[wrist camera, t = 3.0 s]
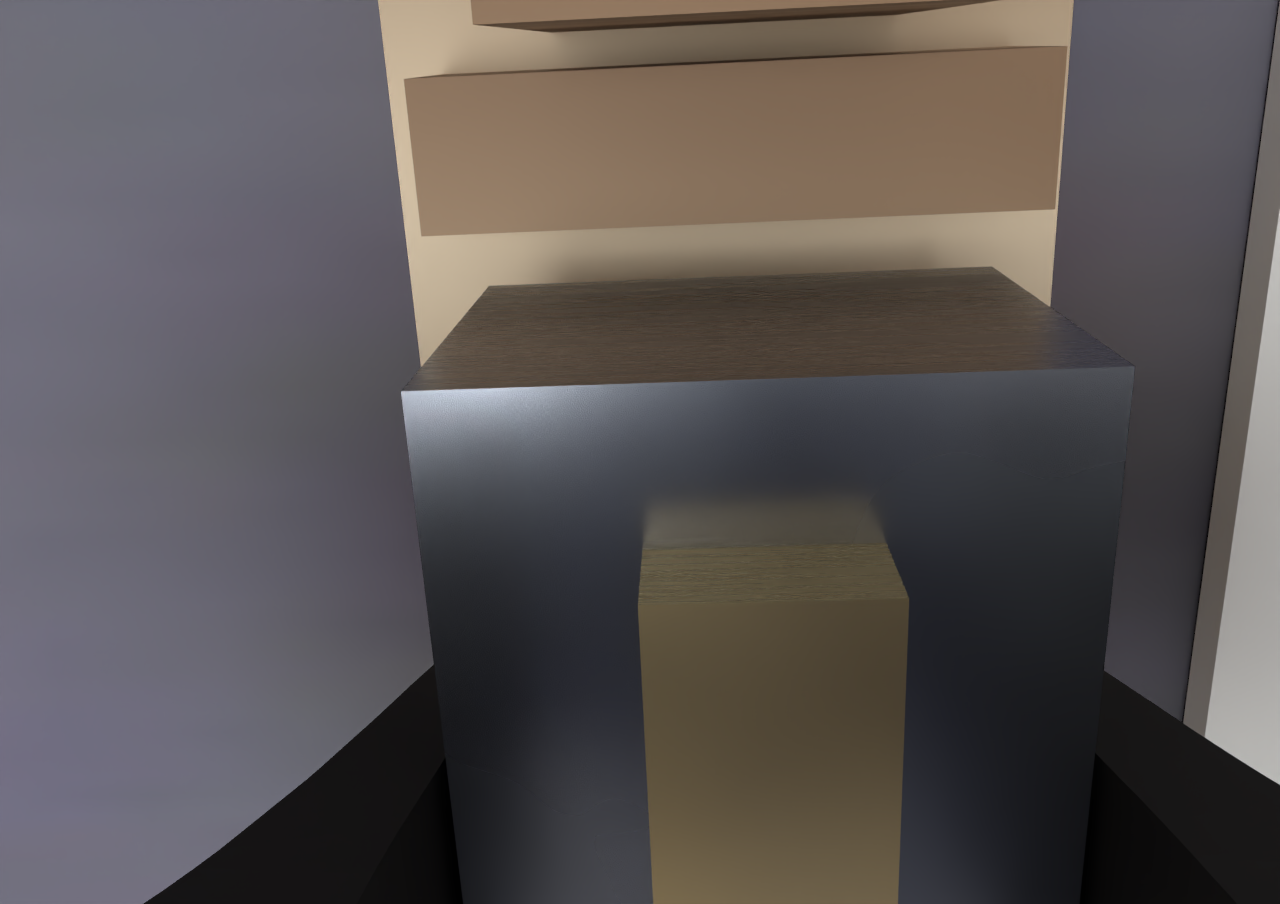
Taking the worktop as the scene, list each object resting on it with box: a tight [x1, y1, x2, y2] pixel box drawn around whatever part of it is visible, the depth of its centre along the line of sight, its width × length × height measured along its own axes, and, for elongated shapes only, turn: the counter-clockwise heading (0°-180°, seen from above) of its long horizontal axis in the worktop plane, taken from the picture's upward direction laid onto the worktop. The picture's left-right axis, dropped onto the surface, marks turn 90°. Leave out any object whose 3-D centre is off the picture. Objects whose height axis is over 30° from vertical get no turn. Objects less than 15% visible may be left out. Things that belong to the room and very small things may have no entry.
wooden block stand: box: [378, 0, 1074, 367], centre depth 11 cm, size 16×6×6 cm, turn 3°
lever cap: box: [401, 266, 1135, 904], centre depth 9 cm, size 8×4×4 cm, turn 3°
